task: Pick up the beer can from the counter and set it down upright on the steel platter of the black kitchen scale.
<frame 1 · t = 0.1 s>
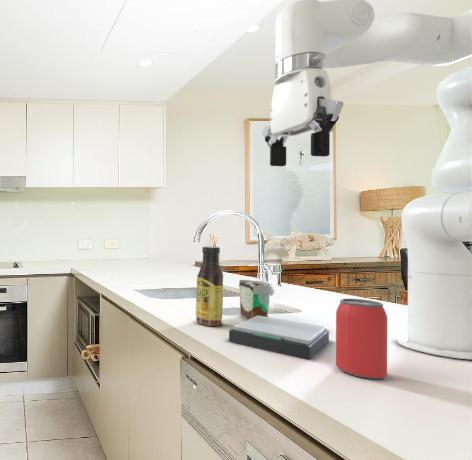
hand: (297, 161, 68), 37 cm above the countertop, tool pointing down, fingers open, 9 cm apart
sauce bottle: (209, 324, 91), on the countertop
beer can: (360, 373, 60), on the countertop
scale: (279, 341, 77), on the countertop
food container: (258, 320, 95), on the countertop
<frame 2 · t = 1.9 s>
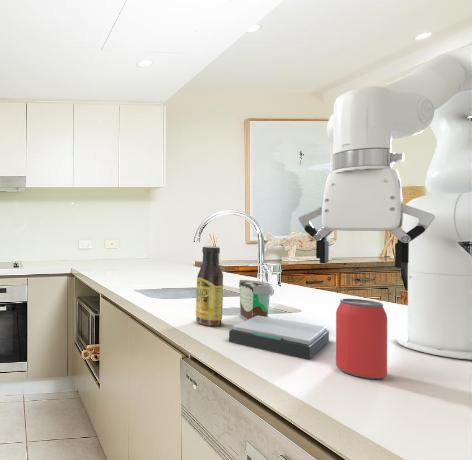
hand: (359, 265, 60), 18 cm above the countertop, tool pointing down, fingers open, 9 cm apart
nothing on the countertop moved.
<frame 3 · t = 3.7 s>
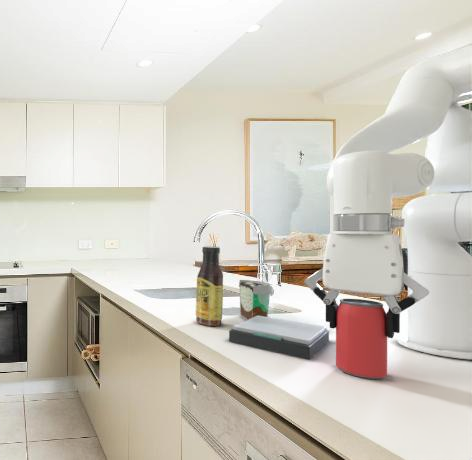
hand: (360, 330, 60), 7 cm above the countertop, tool pointing down, fingers closed on beer can, 6 cm apart
beer can: (360, 373, 60), on the countertop, touching gripper
everything else where it was.
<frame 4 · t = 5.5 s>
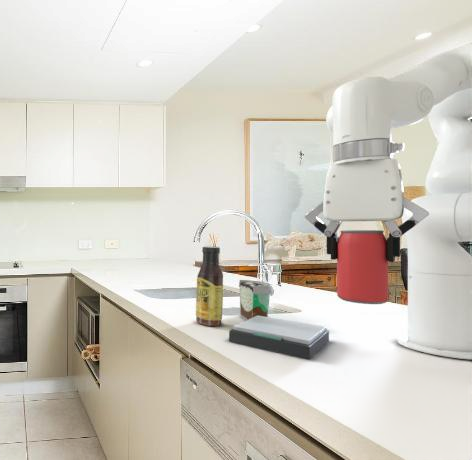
hand: (361, 259, 61), 19 cm above the countertop, tool pointing down, fingers closed on beer can, 6 cm apart
beer can: (362, 302, 61), point 12 cm above the countertop, touching gripper
everything else where it was.
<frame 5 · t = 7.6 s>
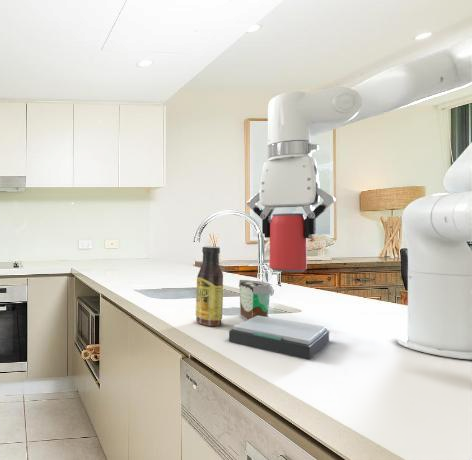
hand: (287, 237, 75), 23 cm above the countertop, tool pointing down, fingers closed on beer can, 6 cm apart
beer can: (287, 271, 75), point 15 cm above the countertop, touching gripper
everything else where it was.
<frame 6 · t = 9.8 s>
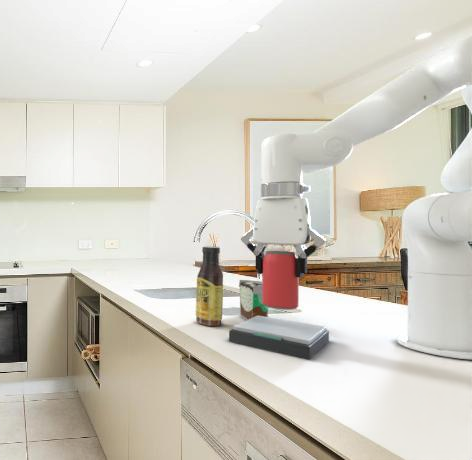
hand: (280, 274, 77), 15 cm above the countertop, tool pointing down, fingers closed on beer can, 6 cm apart
beer can: (279, 307, 77), point 7 cm above the countertop, touching gripper
everything else where it was.
when the fingers open (10 cm above the countertop, at t = 11.6 s): beer can stays where it is, resting on scale.
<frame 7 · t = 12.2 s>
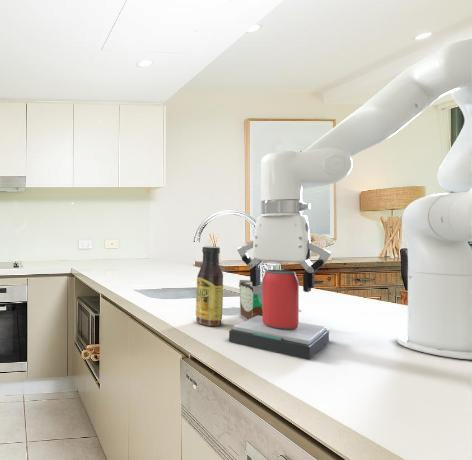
hand: (280, 288, 77), 11 cm above the countertop, tool pointing down, fingers open, 9 cm apart
beer can: (280, 327, 77), point 3 cm above the countertop, touching scale
everything else where it was.
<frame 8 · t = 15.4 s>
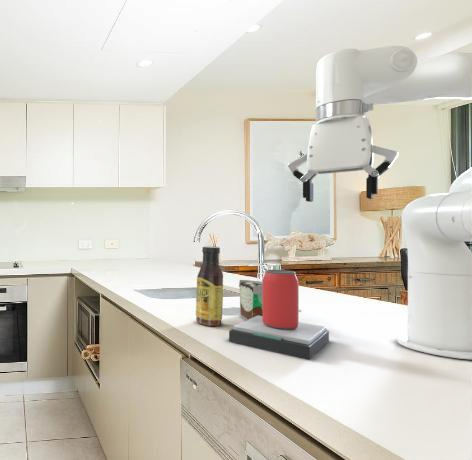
hand: (338, 199, 72), 30 cm above the countertop, tool pointing down, fingers open, 9 cm apart
nothing on the countertop moved.
at the end: beer can 0.0 cm off-centre on the scale, point 3.0 cm above the scale's base; beer can tilted 0°; the gripper is holding nothing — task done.
